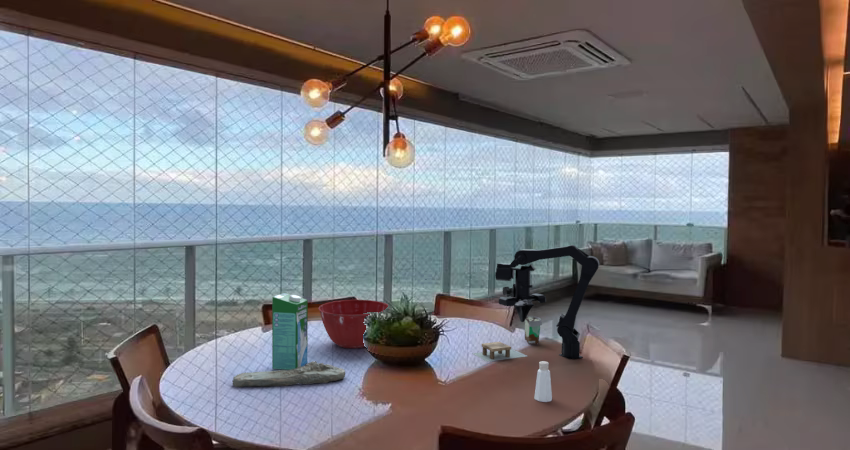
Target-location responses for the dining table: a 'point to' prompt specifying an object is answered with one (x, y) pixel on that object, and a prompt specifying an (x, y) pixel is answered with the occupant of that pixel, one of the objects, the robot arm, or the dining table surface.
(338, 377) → the elongated rock
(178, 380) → the dining table surface
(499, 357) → the mat
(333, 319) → the mixing bowl
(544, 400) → the pepper shaker
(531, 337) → the food container
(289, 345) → the milk carton
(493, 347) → the stool
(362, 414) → the dining table surface
